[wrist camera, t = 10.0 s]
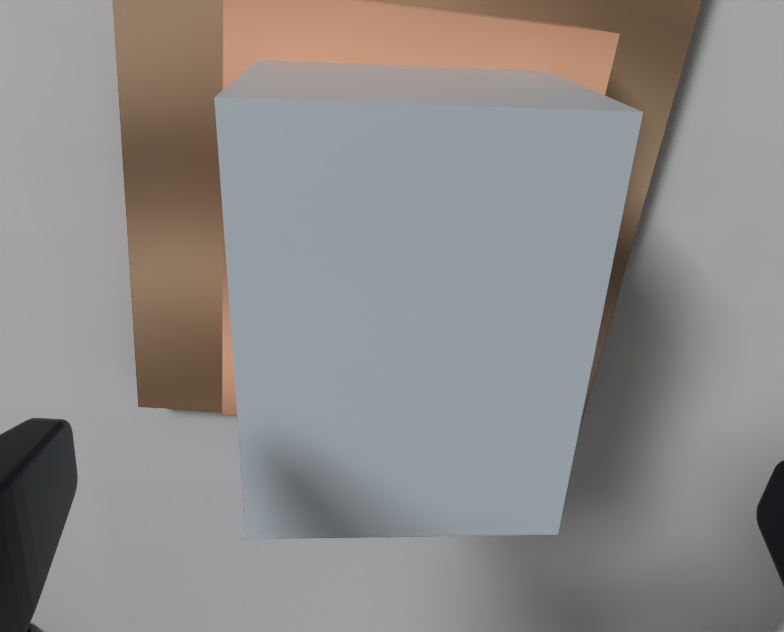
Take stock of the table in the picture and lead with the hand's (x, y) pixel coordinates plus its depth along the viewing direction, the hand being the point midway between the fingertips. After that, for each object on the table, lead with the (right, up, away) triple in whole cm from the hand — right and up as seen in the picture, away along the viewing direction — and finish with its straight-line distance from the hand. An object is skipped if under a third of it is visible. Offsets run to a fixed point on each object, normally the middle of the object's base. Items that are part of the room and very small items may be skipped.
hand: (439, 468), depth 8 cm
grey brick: (0, +4, +7) cm, 8 cm away
